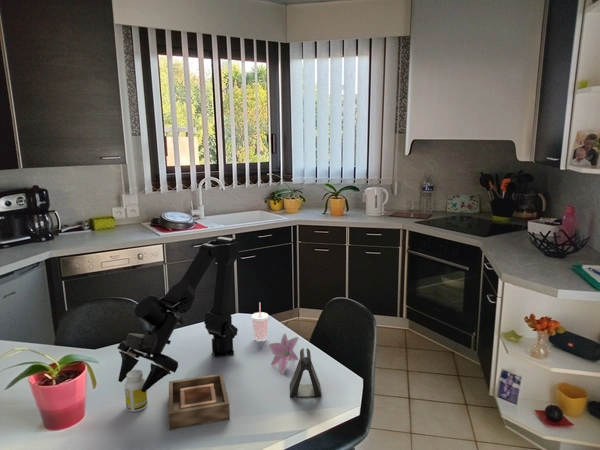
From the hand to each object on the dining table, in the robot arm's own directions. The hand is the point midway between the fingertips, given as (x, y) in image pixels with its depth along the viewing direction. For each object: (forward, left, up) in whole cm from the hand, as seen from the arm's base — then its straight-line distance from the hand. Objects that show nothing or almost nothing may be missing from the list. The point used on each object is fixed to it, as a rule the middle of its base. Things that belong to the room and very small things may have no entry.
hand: (130, 386), depth 114 cm
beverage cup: (-41, -31, -7) cm, 52 cm away
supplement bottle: (-1, -1, -7) cm, 7 cm away
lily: (-45, -11, -7) cm, 47 cm away
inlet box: (-17, +4, -7) cm, 19 cm away
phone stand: (-47, +5, -7) cm, 48 cm away
